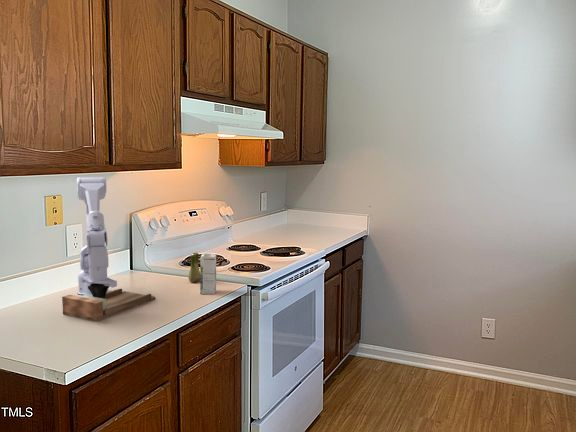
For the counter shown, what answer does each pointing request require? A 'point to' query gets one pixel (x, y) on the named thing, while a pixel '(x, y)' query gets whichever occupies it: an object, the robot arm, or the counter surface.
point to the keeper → (97, 299)
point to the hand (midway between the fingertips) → (99, 305)
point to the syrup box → (208, 274)
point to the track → (119, 303)
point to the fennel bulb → (194, 269)
